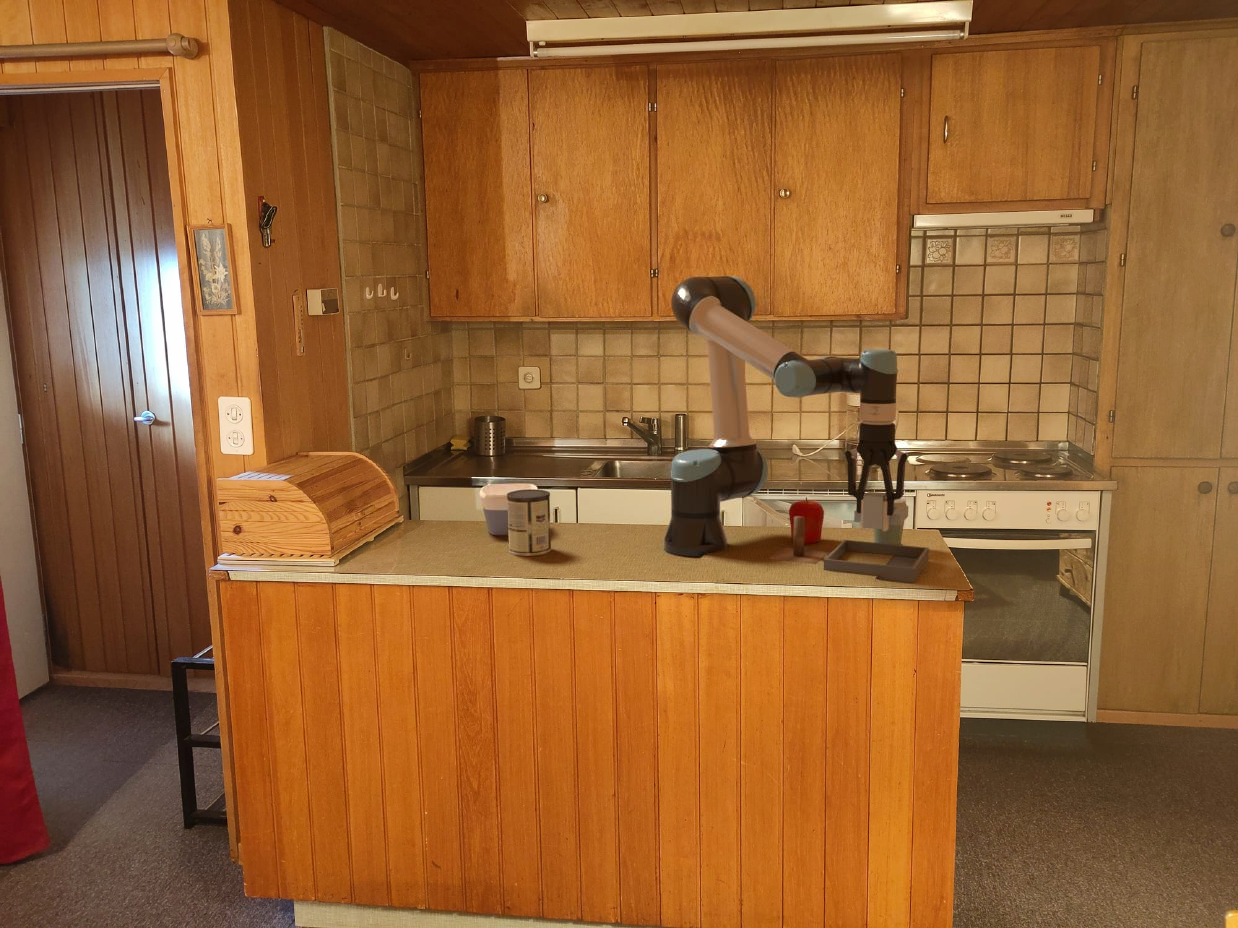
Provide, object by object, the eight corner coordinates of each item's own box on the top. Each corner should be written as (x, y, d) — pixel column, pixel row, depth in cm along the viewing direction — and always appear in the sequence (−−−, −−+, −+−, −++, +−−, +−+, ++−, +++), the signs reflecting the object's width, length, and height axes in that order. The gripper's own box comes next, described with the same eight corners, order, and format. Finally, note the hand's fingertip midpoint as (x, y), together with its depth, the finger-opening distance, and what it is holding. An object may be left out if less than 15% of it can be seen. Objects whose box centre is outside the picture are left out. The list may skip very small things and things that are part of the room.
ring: (849, 526, 226) (849, 495, 225) (863, 513, 239) (864, 483, 238) (895, 530, 222) (896, 498, 221) (908, 516, 235) (909, 486, 234)
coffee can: (521, 543, 256) (520, 487, 254) (558, 547, 252) (557, 490, 250) (500, 553, 247) (498, 495, 245) (538, 558, 243) (536, 499, 240)
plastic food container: (481, 525, 277) (479, 484, 275) (539, 523, 278) (538, 482, 277) (479, 539, 262) (478, 495, 260) (541, 536, 263) (540, 493, 262)
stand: (768, 561, 237) (769, 520, 236) (782, 550, 247) (782, 510, 246) (815, 567, 233) (816, 524, 231) (827, 555, 243) (828, 514, 241)
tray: (823, 573, 228) (823, 559, 227) (843, 552, 245) (844, 539, 245) (914, 582, 220) (914, 568, 219) (928, 560, 237) (929, 547, 237)
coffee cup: (907, 554, 243) (908, 504, 241) (869, 552, 245) (871, 502, 243) (904, 545, 251) (906, 496, 249) (868, 543, 253) (869, 495, 251)
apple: (821, 549, 248) (822, 501, 246) (786, 547, 251) (787, 499, 249) (825, 541, 256) (826, 494, 254) (791, 539, 259) (791, 492, 257)
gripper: (833, 422, 223) (831, 529, 226) (915, 426, 215) (911, 536, 219) (841, 418, 229) (839, 522, 233) (921, 421, 222) (917, 528, 226)
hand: (874, 528), depth 226 cm, fingers closed on ring, 4 cm apart
